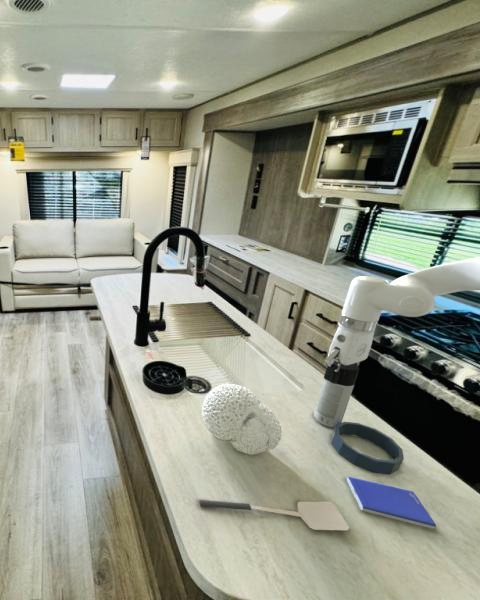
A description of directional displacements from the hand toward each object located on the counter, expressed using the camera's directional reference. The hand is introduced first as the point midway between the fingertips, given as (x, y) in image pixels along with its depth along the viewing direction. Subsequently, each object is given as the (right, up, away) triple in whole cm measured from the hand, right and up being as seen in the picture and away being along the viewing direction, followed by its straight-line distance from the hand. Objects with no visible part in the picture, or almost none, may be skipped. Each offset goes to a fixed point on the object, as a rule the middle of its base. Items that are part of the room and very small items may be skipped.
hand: (338, 377), depth 90 cm
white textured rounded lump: (-30, -17, +1) cm, 34 cm away
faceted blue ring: (+2, -19, -6) cm, 20 cm away
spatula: (-33, -25, -20) cm, 46 cm away
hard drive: (-5, -24, -19) cm, 31 cm away
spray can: (+1, -15, +5) cm, 15 cm away
